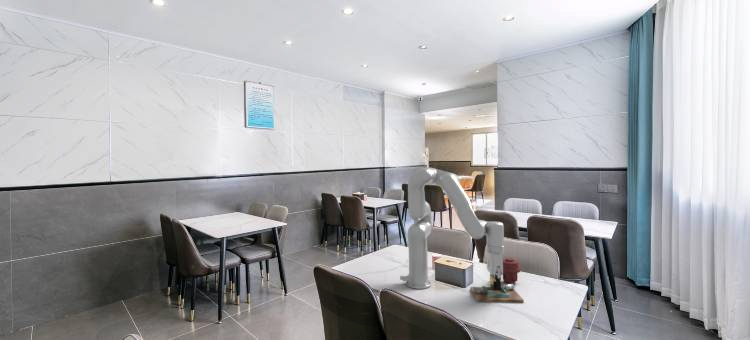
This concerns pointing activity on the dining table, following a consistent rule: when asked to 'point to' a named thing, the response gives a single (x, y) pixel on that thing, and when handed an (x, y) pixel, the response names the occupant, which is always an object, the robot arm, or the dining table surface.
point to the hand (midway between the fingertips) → (495, 287)
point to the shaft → (508, 287)
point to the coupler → (492, 282)
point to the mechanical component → (510, 270)
